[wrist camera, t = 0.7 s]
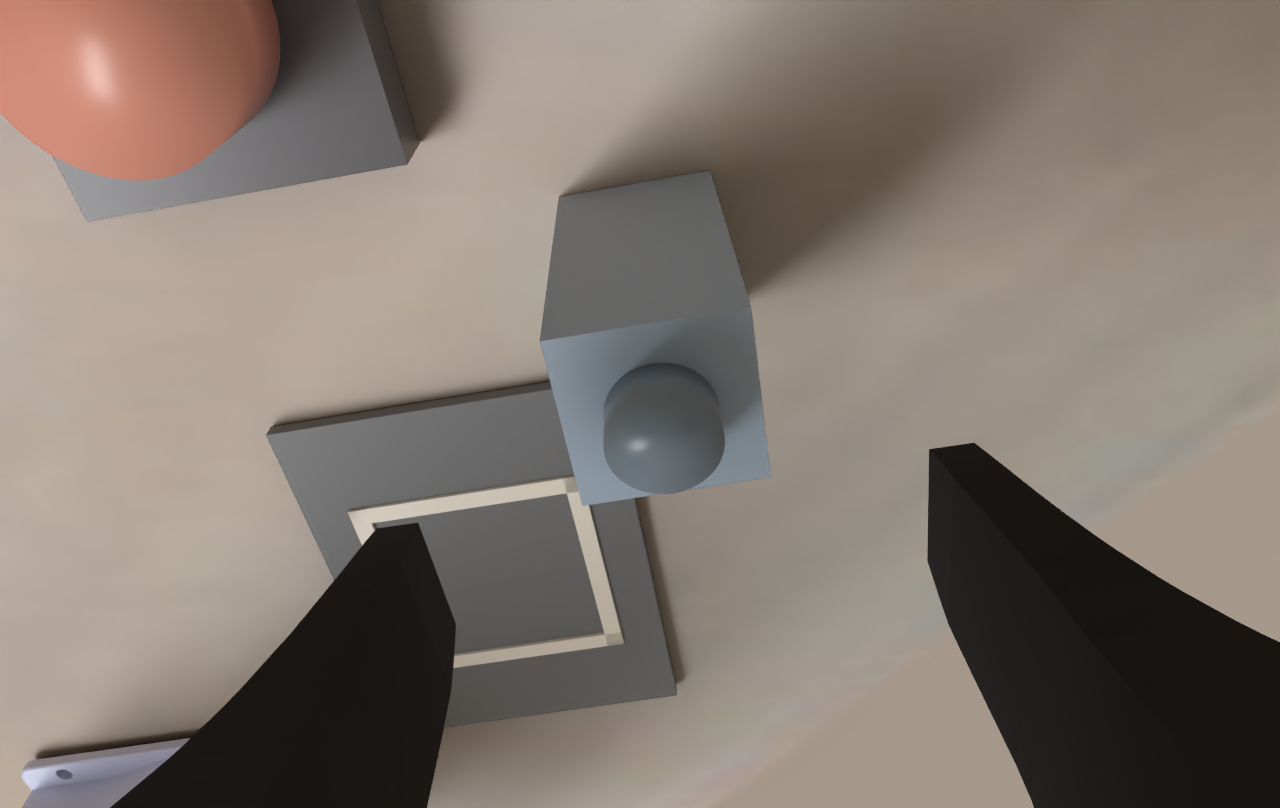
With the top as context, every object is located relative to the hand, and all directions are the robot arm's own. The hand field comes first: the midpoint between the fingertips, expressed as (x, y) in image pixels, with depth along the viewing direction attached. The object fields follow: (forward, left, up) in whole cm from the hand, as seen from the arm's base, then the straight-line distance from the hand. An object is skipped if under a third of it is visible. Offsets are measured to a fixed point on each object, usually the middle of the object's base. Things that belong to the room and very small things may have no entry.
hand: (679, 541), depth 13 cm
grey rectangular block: (0, 0, -10) cm, 10 cm away
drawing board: (-6, -9, -10) cm, 15 cm away
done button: (-8, +7, -8) cm, 13 cm away
